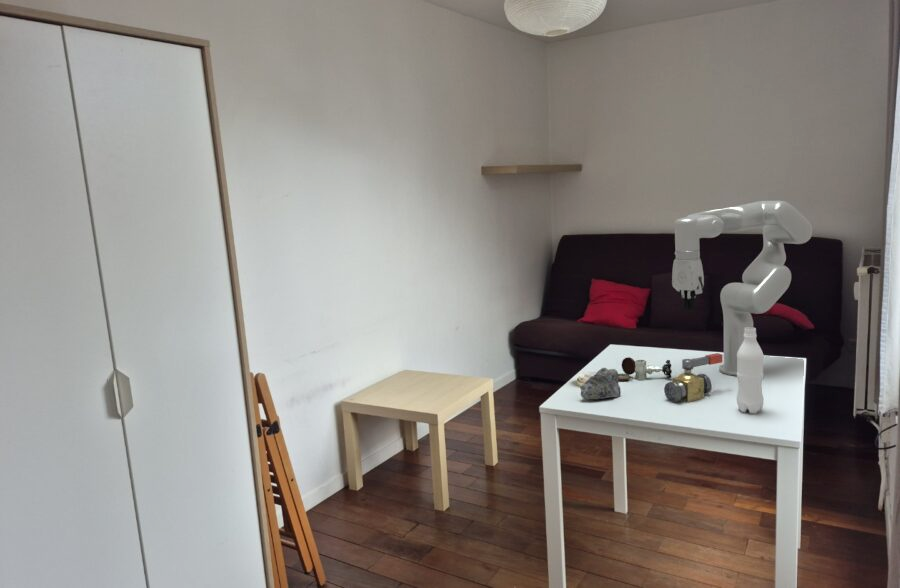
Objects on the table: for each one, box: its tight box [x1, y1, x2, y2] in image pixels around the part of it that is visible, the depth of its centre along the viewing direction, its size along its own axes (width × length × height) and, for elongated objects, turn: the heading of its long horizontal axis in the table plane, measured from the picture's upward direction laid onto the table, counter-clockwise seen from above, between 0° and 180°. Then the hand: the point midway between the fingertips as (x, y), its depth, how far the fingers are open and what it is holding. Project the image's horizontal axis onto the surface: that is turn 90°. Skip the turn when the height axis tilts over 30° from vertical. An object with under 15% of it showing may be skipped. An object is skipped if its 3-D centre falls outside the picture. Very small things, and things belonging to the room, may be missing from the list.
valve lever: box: [681, 352, 723, 371], centre depth 210 cm, size 15×3×3 cm, turn 111°
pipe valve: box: [663, 369, 713, 404], centre depth 209 cm, size 14×8×9 cm, turn 117°
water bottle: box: [736, 326, 765, 415], centre depth 193 cm, size 7×7×25 cm
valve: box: [634, 359, 672, 381], centre depth 231 cm, size 7×7×12 cm
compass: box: [618, 356, 636, 382], centre depth 232 cm, size 8×8×7 cm
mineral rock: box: [579, 367, 621, 400], centre depth 215 cm, size 13×11×10 cm
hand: (689, 309), depth 220 cm, fingers closed
